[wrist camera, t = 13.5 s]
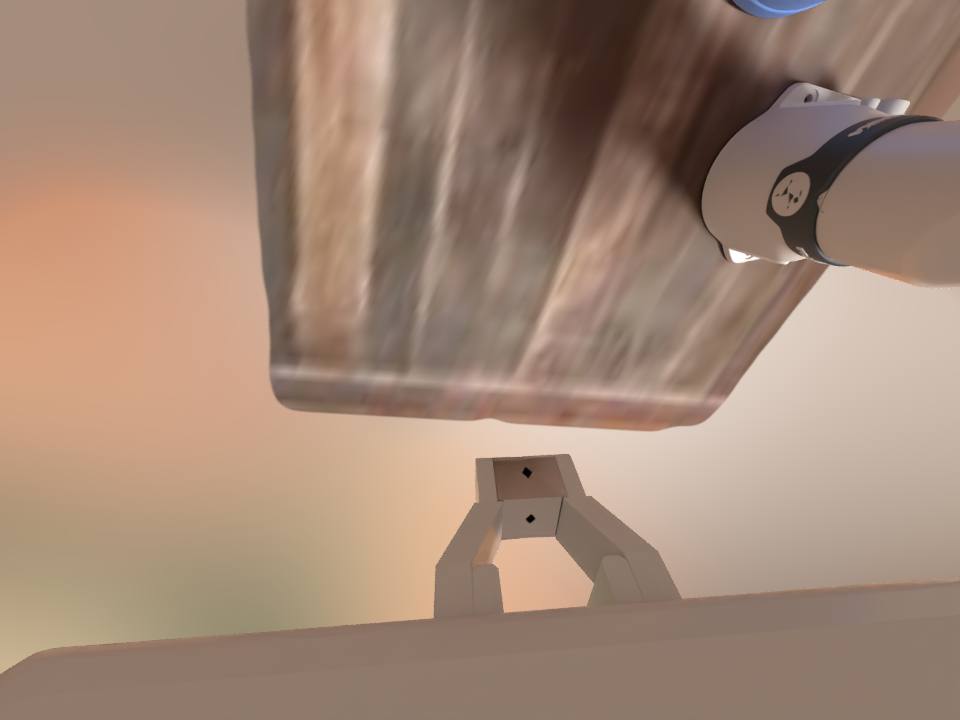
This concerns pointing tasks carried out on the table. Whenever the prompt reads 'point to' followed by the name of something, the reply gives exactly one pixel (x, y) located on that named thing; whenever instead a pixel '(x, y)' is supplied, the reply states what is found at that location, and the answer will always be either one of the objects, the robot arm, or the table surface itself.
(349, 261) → the table surface
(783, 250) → the robot arm
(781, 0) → the water jug
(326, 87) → the table surface
